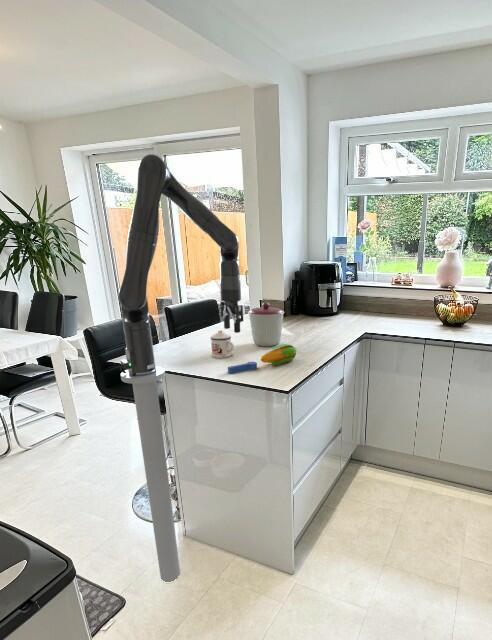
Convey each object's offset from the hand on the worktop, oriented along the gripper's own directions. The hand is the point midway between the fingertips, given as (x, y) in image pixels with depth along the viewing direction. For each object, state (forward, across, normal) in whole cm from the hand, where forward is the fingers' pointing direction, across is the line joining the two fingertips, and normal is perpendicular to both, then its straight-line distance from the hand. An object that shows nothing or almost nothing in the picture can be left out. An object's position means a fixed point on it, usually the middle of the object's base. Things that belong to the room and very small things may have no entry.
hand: (232, 330), depth 154 cm
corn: (+16, +1, +21) cm, 27 cm away
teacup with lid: (+17, -23, +7) cm, 29 cm away
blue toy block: (+16, +1, +4) cm, 17 cm away
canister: (+16, -31, +35) cm, 49 cm away
